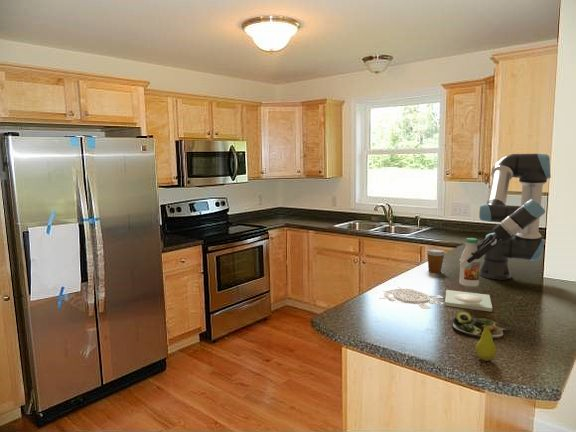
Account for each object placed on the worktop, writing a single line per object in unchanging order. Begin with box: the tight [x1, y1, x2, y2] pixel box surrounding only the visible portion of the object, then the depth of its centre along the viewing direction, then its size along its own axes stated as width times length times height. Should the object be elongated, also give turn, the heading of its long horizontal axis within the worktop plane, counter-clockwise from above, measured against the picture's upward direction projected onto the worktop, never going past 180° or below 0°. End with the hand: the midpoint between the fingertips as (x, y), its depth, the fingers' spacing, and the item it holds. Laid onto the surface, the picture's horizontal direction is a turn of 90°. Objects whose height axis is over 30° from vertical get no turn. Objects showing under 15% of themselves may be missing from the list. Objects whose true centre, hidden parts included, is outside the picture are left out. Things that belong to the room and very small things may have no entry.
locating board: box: [444, 289, 493, 313], centre depth 177 cm, size 18×18×2 cm
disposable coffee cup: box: [426, 248, 446, 274], centre depth 225 cm, size 10×10×12 cm
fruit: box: [475, 320, 497, 362], centre depth 125 cm, size 6×6×12 cm
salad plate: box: [451, 310, 512, 339], centre depth 148 cm, size 19×18×5 cm
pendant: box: [379, 286, 445, 309], centre depth 183 cm, size 21×28×1 cm
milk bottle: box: [458, 237, 481, 287], centre depth 174 cm, size 8×8×20 cm
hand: (461, 264), depth 176 cm, fingers closed on milk bottle, 7 cm apart
